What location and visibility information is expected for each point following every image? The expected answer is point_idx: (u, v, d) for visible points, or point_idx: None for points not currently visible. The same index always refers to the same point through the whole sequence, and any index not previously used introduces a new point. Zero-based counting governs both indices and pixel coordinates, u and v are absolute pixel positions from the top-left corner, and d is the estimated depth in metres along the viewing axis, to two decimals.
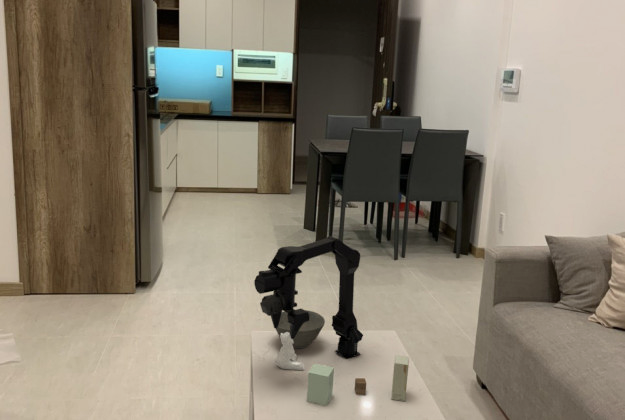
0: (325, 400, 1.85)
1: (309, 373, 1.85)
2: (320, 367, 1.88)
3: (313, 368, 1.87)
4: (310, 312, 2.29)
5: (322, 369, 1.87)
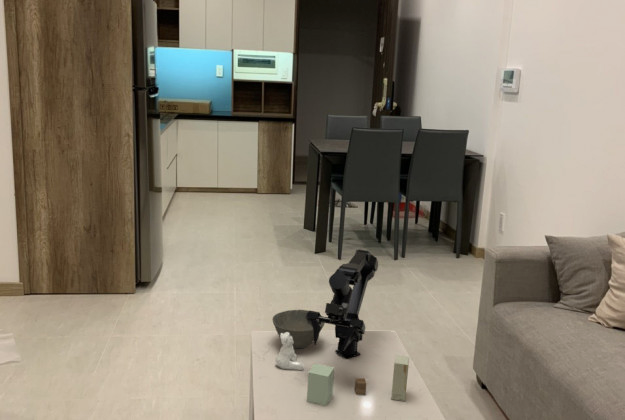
0: (325, 400, 1.85)
1: (309, 373, 1.85)
2: (320, 367, 1.88)
3: (313, 368, 1.87)
4: None
5: (322, 369, 1.87)
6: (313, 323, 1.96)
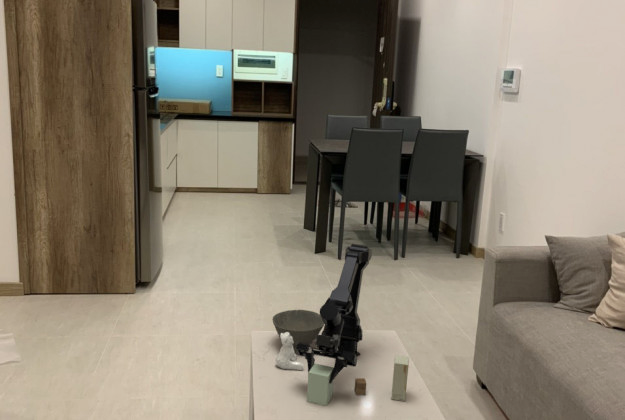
0: (325, 400, 1.85)
1: (309, 373, 1.85)
2: (320, 368, 1.88)
3: (313, 368, 1.87)
4: (310, 312, 2.29)
5: (322, 369, 1.87)
6: (307, 356, 1.89)
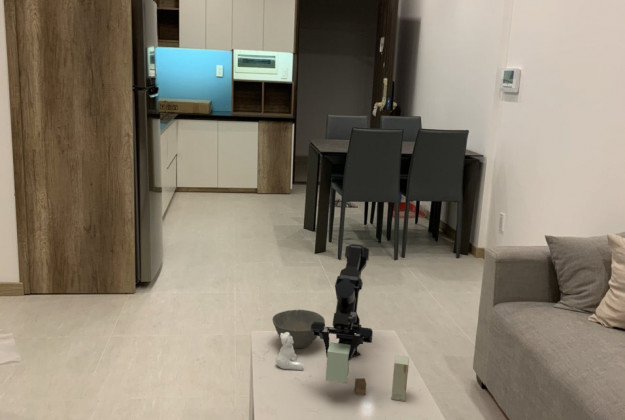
0: (345, 378, 1.85)
1: (328, 352, 1.84)
2: (338, 346, 1.88)
3: (331, 347, 1.87)
4: (310, 312, 2.29)
5: (340, 347, 1.87)
6: (324, 335, 1.88)
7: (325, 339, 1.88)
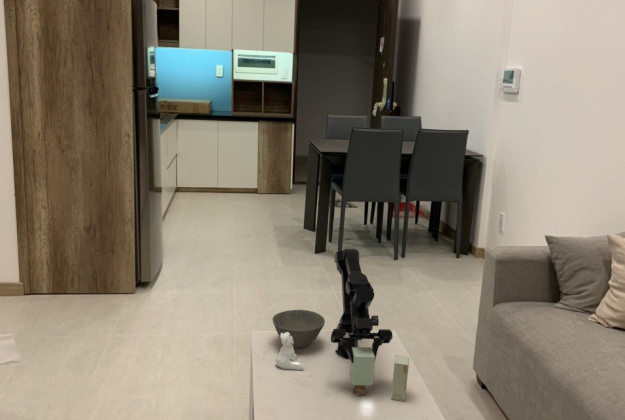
0: (371, 380, 1.90)
1: (355, 357, 1.88)
2: (361, 350, 1.92)
3: (355, 352, 1.90)
4: (310, 312, 2.29)
5: (363, 351, 1.91)
6: (347, 341, 1.91)
7: (348, 345, 1.91)
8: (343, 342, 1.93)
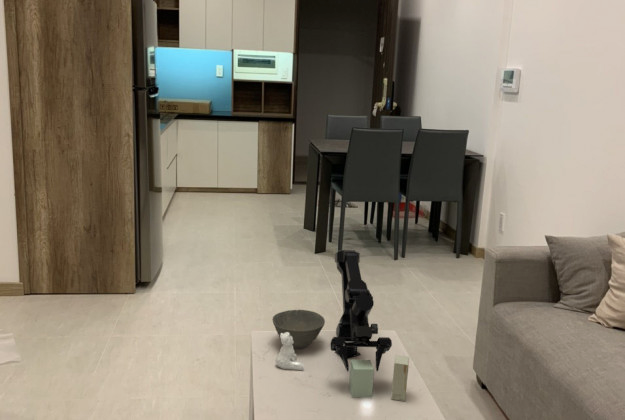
0: (370, 392, 1.91)
1: (354, 370, 1.88)
2: (360, 362, 1.93)
3: (354, 364, 1.91)
4: (310, 312, 2.29)
5: (362, 363, 1.92)
6: (342, 349, 1.91)
7: (343, 353, 1.92)
8: (338, 350, 1.93)
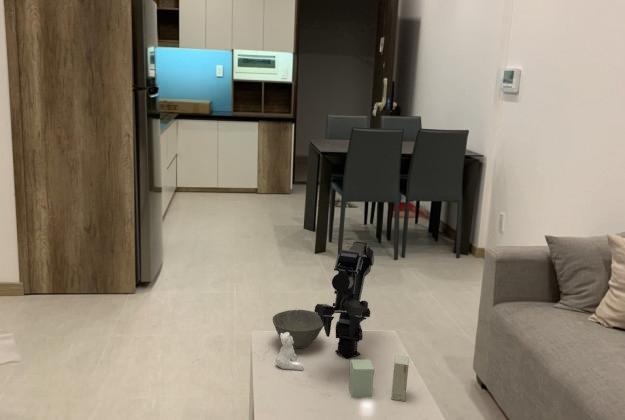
0: (370, 392, 1.91)
1: (354, 370, 1.88)
2: (360, 362, 1.93)
3: (354, 364, 1.91)
4: (310, 312, 2.29)
5: (362, 363, 1.92)
6: (329, 319, 1.97)
7: (329, 321, 1.98)
8: None
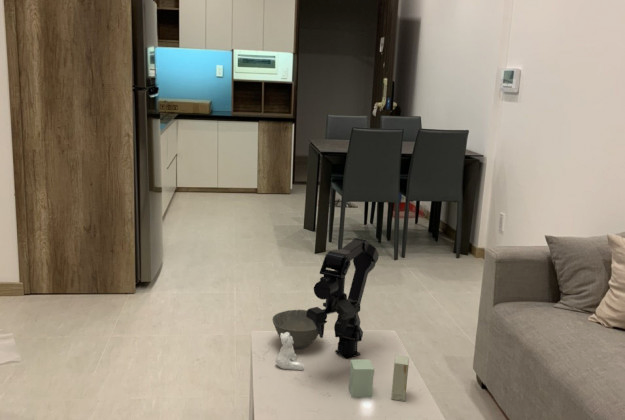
0: (370, 392, 1.91)
1: (354, 370, 1.88)
2: (360, 362, 1.93)
3: (354, 364, 1.91)
4: None
5: (362, 363, 1.92)
6: (322, 323, 1.97)
7: (322, 325, 1.98)
8: None
